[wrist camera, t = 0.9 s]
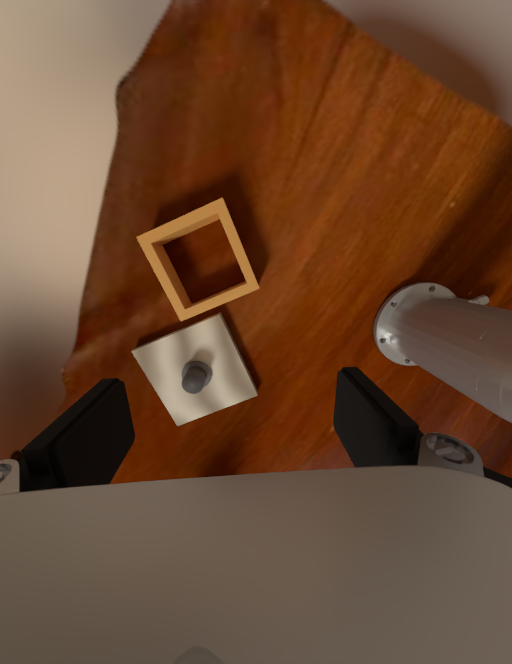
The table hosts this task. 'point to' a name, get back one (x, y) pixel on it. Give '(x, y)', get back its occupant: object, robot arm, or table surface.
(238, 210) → the table surface
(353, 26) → the table surface
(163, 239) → the tan square frame
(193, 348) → the board
